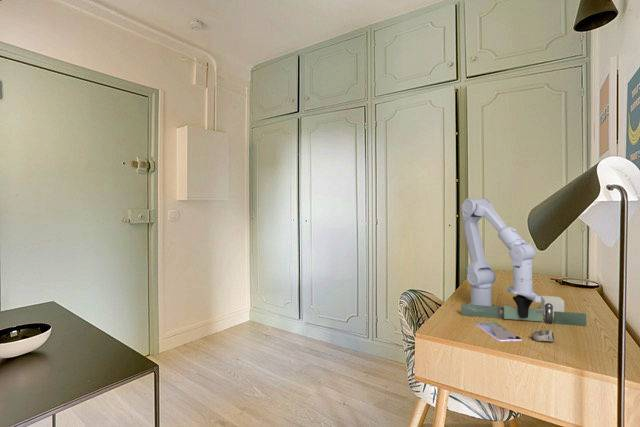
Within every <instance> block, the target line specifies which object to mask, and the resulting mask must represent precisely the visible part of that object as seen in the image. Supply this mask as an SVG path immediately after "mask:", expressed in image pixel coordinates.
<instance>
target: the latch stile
mask: <svg viewBox="0 0 640 427" xmlns="http://www.w3.org/2000/svg"><path fill="white" fill-rule="evenodd" d="M460 306H461V308H460V310H461V316H462V315H463V317H464V316H466V317H477V318H478V317H479V318H490V319H495V318H496V319H501V320H502V319H504V318H503V306H500V305H499V306H498V305H496V306H495V305H492V306H484V305H469V303H467V304H465V303H461V305H460ZM504 320H505V319H504Z"/></svg>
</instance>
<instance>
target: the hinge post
mask: <svg viewBox="0 0 640 427" xmlns="http://www.w3.org/2000/svg"><path fill="white" fill-rule="evenodd" d="M544 323H545V324H547V325H548V324H550V325H552V324H555V325H556V324H557V325H569V326H570V325H571V326H582V327H583V326H584V327H586V326H587V313H585V312H575V311H574V312H571V311H570V312H569V311H564V312H558V311H554V316H553V305H552V304H550V303H546V304H545V315H544Z"/></svg>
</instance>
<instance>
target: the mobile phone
mask: <svg viewBox="0 0 640 427" xmlns="http://www.w3.org/2000/svg"><path fill="white" fill-rule="evenodd" d="M475 326H477V327H478V328H480V330H483V331H484V332H485V333H487V334H488V335H489V336H491V337H492V338H494V340H496V341H498V342H522V341H523V339H522V338H521V337H520V336H518V335H517V334H515V333H514V332H512V331H511V330H509V329H507V328H506V327H504V326H502V325H500V324H499V323H497V322H495V321H493V322H492V321H490V322H489V321H488V322H476V323H475Z"/></svg>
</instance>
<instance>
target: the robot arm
mask: <svg viewBox="0 0 640 427" xmlns="http://www.w3.org/2000/svg"><path fill="white" fill-rule="evenodd" d="M460 210H461V222H462V227H463V232H464V235H465V241H466V245H467V250H468V255H469V259H470V263H469V265H468V266H467V267H466V272H467V274H466V279H467V283H468V284H469V286H471V288H470V302H468V305H484V306H493V305H492V303H493V302H492V300H493V299H492V297H493V296H492V291H493V290H492V287H493V284H494V283H495V282H496V280H497V275H496V272H495V271H494V269H493V267H492V264H491V263H489V262H488V261H487V259H486V256H485V252H484V246H483V242H482V238H481V233H480V229H479V224H478V222H479V221H480V220H481V219H482V218H484V219H486V221H488V222H489V223H490V224H491V225H492V227H493V228H494V229H495V230H496V231H497V232H498V233H497V237H498V238H499V240H500V241H501V242H502V243H503V245H504V246H505V247H506V248H507V249H508V250H509V251H508V256H509V258H510V259H511V264H512V276H513V277H512V281H513V284H512V286H511V285H510V286H506V292H507V293H511V294H514V295H516V296H512V299H513V301H514V303H515V305H516V307H518V313H519V317H521V318H528V310H529V308H531V305H532V303H533V302H534V303H541V296H542V295H539V294H537V293H536V292H534V291H533V288H534V287H533V286H534V285H533V283H534V280H533V259H534V258H536V255H537V251H536V248H535V246H534V245H533V244H532V243H528V242H526V240H525V239H523V238H522V237H521V236H520V234H519V233H518V232H517V229H516V228H513V227H512V226H507V224H506V223H505V222H504V220H503V219H502V218H501V216H500V215H499V214H498V213H497V211H496V210H495V208H494V204H493V203H492V202H491V201H490V200H489V199H488V198H485V197H481V198H473V197H467V198H466V199H464V200H463V202H462V204H461V205H460Z"/></svg>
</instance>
